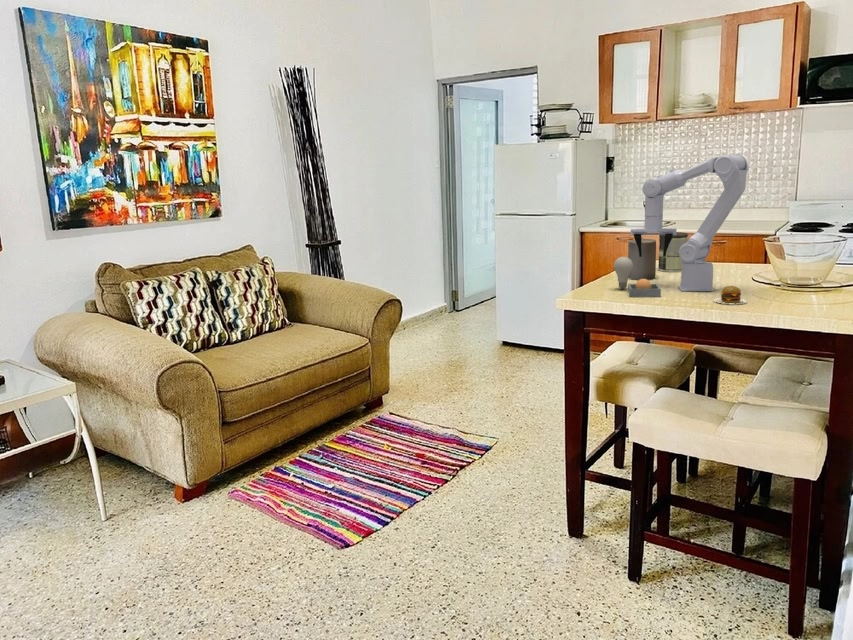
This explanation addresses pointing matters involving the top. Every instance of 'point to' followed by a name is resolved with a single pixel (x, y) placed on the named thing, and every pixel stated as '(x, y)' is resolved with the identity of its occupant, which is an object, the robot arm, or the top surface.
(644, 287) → the ball
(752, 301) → the top surface
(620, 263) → the lightbulb
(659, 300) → the top surface
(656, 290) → the gray square tray
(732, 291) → the hamburger
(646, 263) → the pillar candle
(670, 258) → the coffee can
